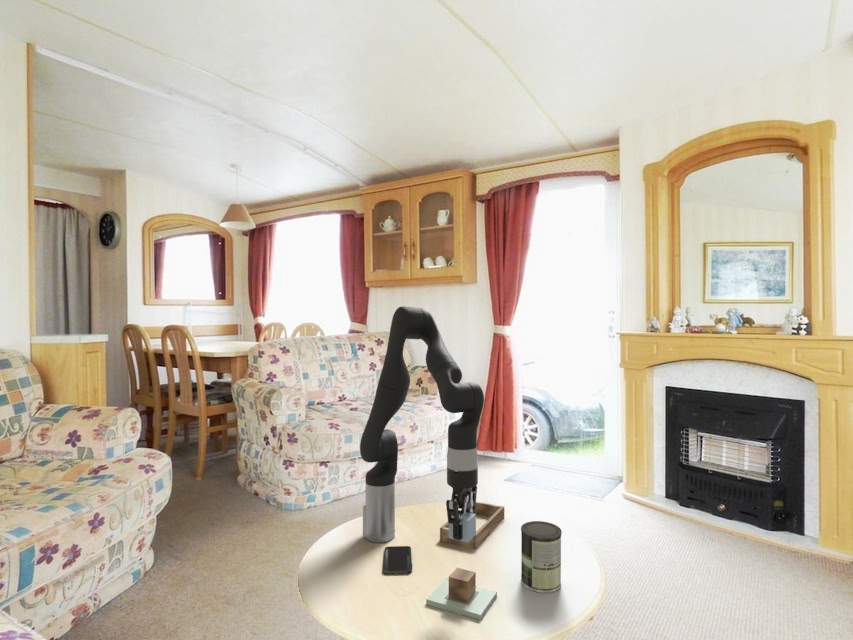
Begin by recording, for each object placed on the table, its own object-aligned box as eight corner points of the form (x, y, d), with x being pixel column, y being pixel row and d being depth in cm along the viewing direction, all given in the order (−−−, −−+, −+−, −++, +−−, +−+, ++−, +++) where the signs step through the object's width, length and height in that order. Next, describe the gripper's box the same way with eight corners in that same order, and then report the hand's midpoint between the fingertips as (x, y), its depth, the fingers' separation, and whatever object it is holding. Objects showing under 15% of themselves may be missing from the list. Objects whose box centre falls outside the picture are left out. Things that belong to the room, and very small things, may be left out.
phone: (383, 572, 136) (385, 546, 150) (383, 576, 136) (385, 550, 151) (412, 571, 136) (411, 545, 151) (412, 575, 136) (411, 549, 151)
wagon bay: (440, 540, 156) (440, 527, 156) (471, 511, 179) (471, 500, 179) (476, 549, 151) (476, 535, 150) (504, 518, 174) (504, 506, 174)
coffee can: (513, 584, 131) (513, 529, 131) (532, 568, 139) (532, 517, 139) (550, 598, 124) (550, 541, 124) (568, 581, 132) (568, 527, 132)
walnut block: (448, 597, 122) (448, 576, 122) (456, 587, 127) (457, 567, 127) (467, 602, 120) (467, 581, 120) (475, 592, 124) (475, 572, 124)
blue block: (448, 538, 122) (448, 517, 122) (457, 530, 127) (457, 510, 127) (468, 542, 120) (468, 521, 120) (475, 534, 124) (475, 514, 124)
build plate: (426, 604, 122) (426, 598, 122) (445, 582, 131) (445, 577, 131) (480, 620, 115) (480, 614, 115) (496, 596, 125) (496, 591, 125)
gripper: (459, 455, 131) (459, 521, 131) (435, 470, 118) (435, 543, 119) (487, 459, 128) (487, 526, 128) (465, 475, 115) (465, 549, 115)
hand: (462, 534), depth 123 cm, fingers closed on blue block, 5 cm apart
